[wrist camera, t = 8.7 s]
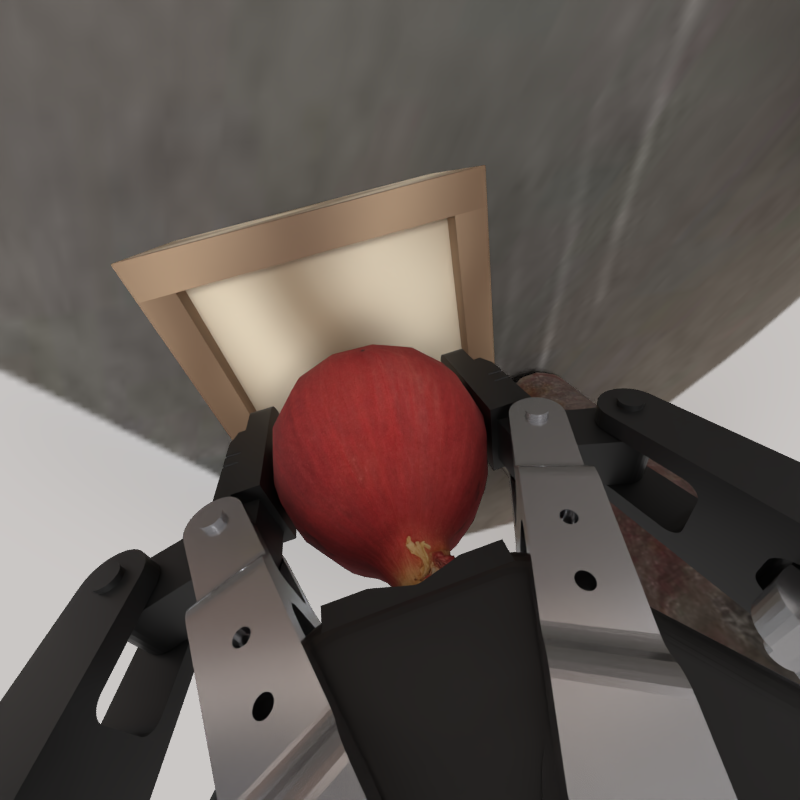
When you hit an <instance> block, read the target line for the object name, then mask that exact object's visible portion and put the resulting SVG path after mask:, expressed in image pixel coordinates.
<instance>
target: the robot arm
mask: <svg viewBox="0 0 800 800" xmlns="http://www.w3.org/2000/svg"><path fill="white" fill-rule="evenodd" d="M441 362H442V363H443V364H444V365H445V366H447V367H448V368H449V369H450V370H452V371H453V372H454V373H455V374H456V375H457V377H458V378H459V380H460V381H461V382H462V384H463V385H464V387H465V388H466V389H467V391H468V392H469V394H470V395H471V397H472V398H473V400H474V401H475V403H476V405H477V406H478V408H479V409H480V411H481V413H482V414H483V418H484V423H485V428H486V433H487V462H488V463H489V464H490V466H491V467H492V469H493V470H496V469H499V468H502V467H506V469H507V470H508V471H509V482H510V491H511V501H512V510H513V519H514V528H515V539H516V552H511V553H510V552H509V550H508V549H507V547H506V545H505V543H504V542H503V540H499V541H496V542H494V543H491V544H488V545H486V546H483V547H480V548H477V549H475V550H472V551H469V552H466V553H464V554H461V555H459V556H457V557H456V558H455V559H453V560H452V561H450V562H449V563H447V564H446V565H445V566H443V567H442V568H440V569H439V570H438V571H436V572H435V573H433V574H432V575H431V576H429V577H428V578H426V579H425V580H424V581H422V582H420V583H419V584H416V585H409V586H397V587H385V588H373V589H366V590H363V591H360V592H358V593H355V594H352V595H350V596H347V597H344V598H341V599H339V600H336V601H333V602H330V603H328V604H325V605H322V606H321V622H322V623H321V622H320V621H319V619H318V618H317V616H316V615H315V613H314V611H313V610H312V608H311V606H310V604H309V602H308V600H307V598H306V596H305V595H304V593H303V591H302V589H301V587H300V585H299V583H298V581H297V580H296V578H295V576H294V574H293V572H292V570H291V568H290V566H289V564H288V563H287V561H286V559H285V558H284V556H283V555H282V549H283V548H282V547H283V542H286V541H289V540H292V539H295V538H296V527H295V526H294V524H293V522H292V521H291V519H290V517H289V516H288V514H287V512H286V511H285V509H284V507H283V506H282V504H281V502H280V499H279V496H278V493H277V491H276V488H275V485H274V472H273V426H274V424H275V422H276V420H277V418H278V416H279V412H278V410H277V409H276V408H275V407H274V406H272V407H269V408H266V409H262V410H259V411H256V412H253V413H250V415H249V419H248V423H247V427H246V430H245V431H241V432H239V433H238V434H237V435H236V437H235V438H234V439H233V441H232V442H231V443H230V445H229V448H228V451H227V455H226V457H227V458H226V459H225V462H224V465H223V467H224V468H223V469H222V472H221V475H220V478H219V482H218V485H217V489H216V492H215V495H214V499H213V502H211V503H209V504H208V505H206V506H204V507H203V508H202V509H201V510H199V511H198V512H197V513H196V514H195V515H194V516H193V518H192V519H191V520H190V521H189V523H188V524H187V526H186V528H185V531H184V534H183V539H182V540H180V541H179V542H177V543H175V544H173V545H172V546H170V547H168V548H167V549H165V550H163V551H161V552H160V553H158V554H156V555H155V556H153V557H151V558H150V557H148V556H147V555H146V554H145V553H143V552H142V551H141V550H135V549H133V550H127V551H124V552H122V553H119V554H117V555H115V556H113V557H112V558H110V559H108V560H107V561H106V562H104V563H103V564H101V565H100V566H99V567H98V568H97V569H96V570H94V571H93V572H92V573H91V574H90V575H89V577H88V578H87V579H86V580H85V581H84V582H83V584H82V585H81V586H80V588H79V589H78V591H77V592H76V593H75V595H74V596H73V598H72V599H71V601H70V602H69V604H68V605H67V607H66V608H65V609H64V611H63V612H62V614H61V615H60V616H59V618H58V619H57V621H56V622H55V624H54V625H53V626H52V628H51V629H50V631H49V632H48V634H47V635H46V637H45V638H44V639H43V641H42V642H41V644H40V645H39V647H38V648H37V650H36V651H35V653H34V654H33V655H32V657H31V658H30V660H29V661H28V662H27V664H26V665H25V667H24V668H23V670H22V671H21V673H20V674H19V676H18V677H17V678H16V680H15V681H14V683H13V684H12V686H11V687H10V688H9V690H8V691H7V693H6V694H5V696H4V697H3V698H2V700H1V701H0V800H150V798H151V795H152V792H153V789H154V786H155V783H156V780H157V777H158V774H159V772H160V769H161V765H162V763H163V760H164V757H165V754H166V751H167V748H168V745H169V743H170V739H171V737H172V734H173V731H174V728H175V725H176V722H177V719H178V716H179V714H180V710H181V708H182V705H183V702H184V699H185V696H186V693H187V690H188V687H189V684H190V682H191V679H192V676H193V673H195V679H196V684H197V690H198V695H199V701H200V706H201V712H202V718H203V723H204V729H205V734H206V739H207V745H208V750H209V756H210V761H211V767H212V773H213V778H214V783H215V791H214V793H213V795H212V797H211V799H210V800H800V684H798V683H796V682H794V681H792V680H790V679H788V678H786V677H784V676H782V675H780V674H779V673H777V672H775V671H773V670H771V669H769V668H767V667H765V666H763V665H761V664H759V663H757V662H755V661H754V660H752V659H750V658H748V657H746V656H744V655H742V654H740V653H738V652H736V651H734V650H732V649H730V648H729V647H727V646H725V645H723V644H721V643H719V642H717V641H715V640H713V639H711V638H709V637H707V636H705V635H704V634H702V633H700V632H698V631H696V630H694V629H692V628H690V627H688V626H686V625H684V624H682V623H680V622H679V621H677V620H675V619H673V618H671V617H669V616H667V615H665V614H663V613H661V612H659V611H657V610H655V609H654V608H652V607H650V606H649V604H648V601H647V598H646V596H645V593H644V591H643V588H642V585H641V583H640V580H639V578H638V575H637V572H636V570H635V567H634V565H633V562H632V559H631V557H630V554H629V552H628V549H627V546H626V544H625V541H624V539H623V536H622V533H621V531H620V528H619V526H618V523H617V520H616V518H615V515H614V513H613V510H612V507H611V505H610V502H611V503H612V504H613V505H615V506H616V507H617V508H618V509H620V510H621V511H622V512H623V513H625V514H626V515H627V516H628V517H630V518H631V519H632V520H633V521H635V522H636V523H637V524H638V525H640V526H641V527H642V528H643V529H645V530H646V531H647V532H648V533H650V534H651V535H652V536H653V537H655V538H656V539H657V540H658V541H660V542H661V543H662V544H663V545H665V546H666V547H667V548H668V549H670V550H671V551H672V552H673V553H675V554H676V555H677V556H678V557H680V558H681V559H682V560H683V561H685V562H686V563H687V564H688V565H690V566H691V567H692V568H693V569H695V570H696V571H697V572H698V573H700V574H701V575H702V576H703V577H705V578H706V579H707V580H708V581H710V582H711V583H712V584H714V585H715V586H716V587H717V588H719V589H720V590H721V591H722V592H724V593H725V594H726V595H727V596H729V597H730V598H731V599H732V600H734V601H735V602H736V603H737V604H739V605H740V606H741V607H742V608H744V609H745V610H746V611H747V612H749V613H750V614H751V616H752V620H753V623H754V625H755V627H756V629H757V631H758V632H759V634H760V635H761V637H762V638H763V645H764V648H765V650H766V651H767V653H768V654H769V656H770V657H771V658H772V659H773V660H774V661H775V662H777V663H778V664H779V665H781V666H782V667H784V668H786V669H788V670H790V671H793V672H795V674H796V675H797V676H798V678H799V679H800V462H798V461H796V460H794V459H792V458H789V457H787V456H785V455H783V454H781V453H778V452H776V451H774V450H772V449H770V448H767V447H765V446H763V445H761V444H759V443H756V442H754V441H752V440H750V439H748V438H745V437H743V436H741V435H739V434H737V433H734V432H732V431H730V430H728V429H726V428H724V427H721V426H719V425H717V424H715V423H713V422H710V421H708V420H706V419H704V418H702V417H699V416H697V415H695V414H693V413H691V412H688V411H686V410H684V409H681V408H680V407H677V406H675V405H673V404H671V403H669V402H666V401H664V400H662V399H660V398H658V397H655V396H653V395H651V394H649V393H646V392H643V391H639V390H635V389H613V390H609V391H606V392H604V393H603V394H601V395H600V396H599V398H598V402H597V407H596V408H585V409H574V410H564V408H563V407H562V406H561V405H560V404H558V403H557V402H555V401H552V400H550V399H546V398H540V397H531V396H530V395H529V394H527V393H526V392H525V391H524V390H523V389H522V388H521V387H520V386H519V385H517V384H516V383H515V382H514V381H513V380H512V379H511V378H510V377H509V378H508V376H507V375H506V374H505V373H504V372H503V371H501V369H500V368H499V367H497V366H496V365H495V364H494V363H493V362H491V361H488V360H485V359H483V358H477V359H474V360H473V359H472V358H471V357H470V356H469V355H468V354H467V353H466V352H465V351H464V350H463V349H459V350H455V351H452V352H449V353H446V354H442V355H441ZM649 458H650V459H651V460H653V461H655V462H656V463H658V464H660V465H661V466H663V467H664V468H666V469H668V470H669V471H671V472H673V473H674V474H676V475H677V476H679V477H681V478H682V479H684V480H685V481H687V482H688V483H689V484H690V485H691V486H692V487H693V488H694V490H695V491H696V493H697V496H698V498H697V497H695V496H694V495H692V494H690V493H689V492H687V491H686V490H684V489H683V488H681V487H679V486H678V485H676V484H675V483H673V482H672V481H670V480H668V479H667V478H665V477H664V476H662V475H661V474H659V473H657V472H656V471H654V470H653V469H651V468H650V467H648V466H646V465H647V462H648V459H649ZM609 501H610V502H609ZM127 641H128V642H130V643H131V644H133V645H135V646H137V647H138V648H137V650H136V652H135V655H134V657H133V659H132V661H131V663H130V665H129V667H128V669H127V671H126V673H125V675H124V677H123V679H122V681H121V684H120V686H119V688H118V690H117V692H116V694H115V696H114V698H113V701H112V702H111V704H110V706H109V709H108V711H107V713H106V715H105V717H104V719H103V721H102V723H101V724H100V723H99V722H98V720H97V717H96V707H97V702H98V699H99V697H100V694H101V692H102V690H103V688H104V686H105V684H106V682H107V680H108V678H109V676H110V674H111V673H112V671H113V669H114V666H115V665H116V663H117V661H118V659H119V657H120V655H121V653H122V651H123V649H124V647H125V645H126V643H127Z"/></svg>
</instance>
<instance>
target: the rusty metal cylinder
mask: <svg viewBox="0 0 800 800" xmlns="http://www.w3.org/2000/svg"><path fill="white" fill-rule="evenodd" d="M516 384H517V385H519V386H520V387H521V388H522V389H523V390H524V391H525V392H526V393H527V394H529V395H530V396H531V397H540V398H546V399H550V400H552V401H555V402H557V403H558V404H560V405H561V406H562V407H563V408H564V410H574V409H585V408H596V407H597V405H596V404H594V403H593V402H592V401H590V400H589V399H588V398H586V397H585V396H584V395H583V394H581V393H580V392H579V391H578V390H576V389H575V388H574V387H572V386H571V385H569V384H568V383H567V382H566V381H564V380H563V379H562V378H561V377H559V376H556V375H554V374H548V373H538V372H537V373H533V374H531V375H528V376H525V377H523V378H521V379H520V380H519V381H518V382H517V383H516ZM646 466H648V467H650V468H651V469H653V470H654V471H656V472H657V473H659V474H661V475H662V476H664V477H665V478H667V479H668V480H670V481H672V482H673V483H675V484H676V485H678V486H679V487H681V488H683V489H684V490H686V491H687V492H689V493H690V494H692V495H694V496H695V497H697V498H698V496H697V493H696V491H695V490H694V488H693V487H692V486H691V485H690V484H689V483H688V482H687V481H685V480H684V479H682V478H681V477H679V476H677V475H676V474H674V473H673V472H671V471H669V470H668V469H666V468H664V467H663V466H661V465H660V464H658V463H656V462H655V461H653V460H651V459H650V458H649V459H648V462H647V465H646ZM502 469H503V470H504V472H505V473H506V475H507V476H508V478H509V471H508V470H507V469H506V467H502ZM609 502H610V501H609ZM610 505H611V507H612V510H613V513H614V515H615V518H616V520H617V523H618V526H619V528H620V531H621V533H622V536H623V539H624V541H625V544H626V546H627V549H628V552H629V554H630V557H631V559H632V562H633V565H634V567H635V570H636V572H637V575H638V578H639V580H640V583H641V585H642V588H643V591H644V593H645V596H646V598H647V601H648V604H649V606H650V607H652V608H654V609H655V610H657V611H659V612H661V613H663V614H665V615H667V616H669V617H671V618H673V619H675V620H677V621H679V622H680V623H682V624H684V625H686V626H688V627H690V628H692V629H694V630H696V631H698V632H700V633H702V634H704V635H705V636H707V637H709V638H711V639H713V640H715V641H717V642H719V643H721V644H723V645H725V646H727V647H729V648H730V649H732V650H734V651H736V652H738V653H740V654H742V655H744V656H746V657H748V658H750V659H752V660H754V661H755V662H757V663H759V664H761V665H763V666H765V667H767V668H769V669H771V670H773V671H775V672H777V673H779V674H780V675H782V676H784V677H786V678H788V679H790V680H792V681H794V682H796V683H798V684H800V679H799V678H798V676H797V675H796V674H795V672H793V671H790V670H788V669H786V668H784V667H782V666H781V665H779V664H778V663H777V662H775V661H774V660H773V659H772V658H771V657H770V656H769V654H768V653H767V651H766V650H765V648H764V645H763V638H762V637H761V635H760V634H759V632H758V631H757V629H756V627H755V625H754V623H753V620H752V616H751V614H750V613H749V612H747V611H746V610H745V609H744V608H742V607H741V606H740V605H739V604H737V603H736V602H735V601H734V600H732V599H731V598H730V597H729V596H727V595H726V594H725V593H724V592H722V591H721V590H720V589H719V588H717V587H716V586H715V585H714V584H712V583H711V582H710V581H708V580H707V579H706V578H705V577H703V576H702V575H701V574H700V573H698V572H697V571H696V570H695V569H693V568H692V567H691V566H690V565H688V564H687V563H686V562H685V561H683V560H682V559H681V558H680V557H678V556H677V555H676V554H675V553H673V552H672V551H671V550H670V549H668V548H667V547H666V546H665V545H663V544H662V543H661V542H660V541H658V540H657V539H656V538H655V537H653V536H652V535H651V534H650V533H648V532H647V531H646V530H645V529H643V528H642V527H641V526H640V525H638V524H637V523H636V522H635V521H633V520H632V519H631V518H630V517H628V516H627V515H626V514H625V513H623V512H622V511H621V510H620V509H618V508H617V507H616V506H615V505H613V504H612V503H611V502H610Z"/></svg>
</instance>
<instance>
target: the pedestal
mask: <svg viewBox="0 0 800 800" xmlns="http://www.w3.org/2000/svg"><path fill="white" fill-rule="evenodd" d="M111 266H112V267H113V269H114V270H115V272H116V273H117V274H118V276H119V277H120V279H121V280H122V282H123V283H124V285H125V286H126V287H127V289H128V290H129V292H130V293H131V295H132V296H133V298H134V299H135V300H136V302H137V303H138V305H139V306H140V308H141V309H142V311H143V312H144V313H145V315H146V316H147V318H148V319H149V321H150V322H151V324H152V325H153V326H154V328H155V329H156V331H157V332H158V334H159V335H160V336H161V338H162V339H163V341H164V342H165V344H166V345H167V347H168V348H169V349H170V351H171V352H172V354H173V355H174V357H175V358H176V360H177V361H178V362H179V364H180V365H181V367H182V368H183V370H184V371H185V373H186V374H187V375H188V377H189V378H190V380H191V381H192V383H193V384H194V386H195V387H196V388H197V390H198V391H199V393H200V394H201V396H202V397H203V399H204V400H205V401H206V403H207V404H208V406H209V407H210V409H211V410H212V412H213V413H214V414H215V416H216V417H217V419H218V420H219V422H220V423H221V425H222V426H223V427H224V429H225V430H226V432H227V433H228V435H229V436H230V437H231V439H232V440H233V439H234V438H235V437H236V435H237V434H238V433H239V432H241V431H245V430H246V427H247V423H248V419H249V415H250V413H253V412H256V411H259V410H262V409H266V408H269V407H272V406H274V407H275V408H276V409H277V410H278V412H279V414H280V411H281V409H282V408H283V406H284V404H285V402H286V400H287V398H288V396H289V394H290V392H291V390H292V389H293V387H294V385H295V384H296V382H297V380H298V378H299V377H301V376H302V375H303V374H305V373H306V372H308V371H309V370H310V369H312V368H313V367H315V366H316V365H318V364H319V363H320V362H322V361H323V360H325V359H326V358H328V357H329V356H330V355H332V354H335V353H339V352H343V351H348V350H352V349H356V348H360V347H364V346H368V345H372V344H376V345H389V346H401V347H412V348H414V349H416V350H418V351H420V352H422V353H424V354H426V355H428V356H430V357H432V358H434V359H436V360H438V361H440V362H441V355H442V354H446V353H449V352H452V351H455V350H459V349H463V350H464V351H465V352H466V353H467V354H468V355H469V356H470V357H471V358H472V359H473V360H474V359H477V358H483V359H485V360H488V361H491V362H493V363H494V364H495V362H494V341H493V319H492V298H491V276H490V255H489V233H488V212H487V190H486V168H485V165H483V166H476V167H470V168H463V169H457V170H451V171H444V172H438V173H432V174H427V175H423V176H419V177H416V178H412V179H408V180H404V181H400V182H397V183H393V184H389V185H385V186H381V187H378V188H374V189H370V190H366V191H362V192H359V193H355V194H351V195H347V196H343V197H340V198H336V199H332V200H328V201H324V202H321V203H317V204H313V205H309V206H305V207H302V208H298V209H294V210H290V211H286V212H283V213H279V214H275V215H271V216H268V217H264V218H260V219H256V220H252V221H249V222H245V223H241V224H237V225H233V226H230V227H226V228H222V229H218V230H214V231H211V232H207V233H203V234H199V235H195V236H192V237H188V238H184V239H180V240H176V241H173V242H171V243H168V244H165V245H162V246H160V247H157V248H154V249H151V250H149V251H146V252H143V253H140V254H138V255H135V256H132V257H129V258H127V259H124V260H121V261H118V262H116V263H113V264H111Z"/></svg>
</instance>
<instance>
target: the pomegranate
mask: <svg viewBox="0 0 800 800" xmlns="http://www.w3.org/2000/svg"><path fill="white" fill-rule="evenodd" d="M273 472H274V485H275V488H276V491H277V493H278V496H279V499H280V502H281V504H282V506H283V507H284V509H285V511H286V512H287V514H288V516H289V517H290V519H291V521H292V522H293V524H294V526H295V527H296V529H297V530H298V531H299V533H300V534H301V535H302V537H303V538H304V539H305V541H306V542H307V543H309V544H310V545H312V546H313V547H315V548H316V549H317V550H319V551H320V552H322V553H323V554H325V555H326V556H328V557H329V558H330V559H332V560H334V561H335V562H336V563H338V564H339V565H341V566H342V567H344V568H345V569H347V570H349V571H350V572H352V573H354V574H357V575H361V576H364V577H369V578H376V579H380V580H382V581H384V582H386V583H388V584H389V585H390V586H391V587H397V586H409V585H416V584H419V583H420V582H422V581H424V580H425V579H426V578H428V577H429V576H431V575H432V574H433V573H435V572H436V571H438V570H439V569H440V568H442V567H443V566H445V565H446V564H447V563H449V562H450V561H452V560H453V559H455V557H454V556H451V555H450V551H451V550H452V549H453V548H454V547H455V546H456V545H457V544H458V543H459V541H460V540H461V538H462V537H463V536H464V534H465V533H466V531H467V530H468V528H469V527H470V525H471V524H472V522H473V521H474V518H475V515H476V513H477V510H478V507H479V504H480V501H481V499H482V496H483V493H484V490H485V486H486V481H487V476H488V462H487V433H486V428H485V423H484V418H483V414H482V413H481V411H480V409H479V408H478V406H477V405H476V403H475V401H474V400H473V398H472V397H471V395H470V394H469V392H468V391H467V389H466V388H465V387H464V385H463V384H462V382H461V381H460V380H459V378H458V377H457V375H456V374H455V373H454V372H453V371H452V370H450V369H449V368H448V367H447V366H445V365H444V364H443V363H442V362H440V361H438V360H436V359H434V358H432V357H430V356H428V355H426V354H424V353H422V352H420V351H418V350H416V349H414V348H412V347H401V346H389V345H376V344H372V345H368V346H364V347H360V348H356V349H352V350H348V351H343V352H339V353H335V354H332V355H330V356H329V357H328V358H326V359H325V360H323V361H322V362H320V363H319V364H318V365H316V366H315V367H313V368H312V369H310V370H309V371H308V372H306V373H305V374H303V375H302V376H301V377H299V378H298V380H297V382H296V384H295V385H294V387H293V389H292V390H291V392H290V394H289V396H288V398H287V400H286V402H285V404H284V406H283V408H282V409H281V411H280V414H279V416H278V418H277V420H276V422H275V424H274V426H273Z"/></svg>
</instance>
